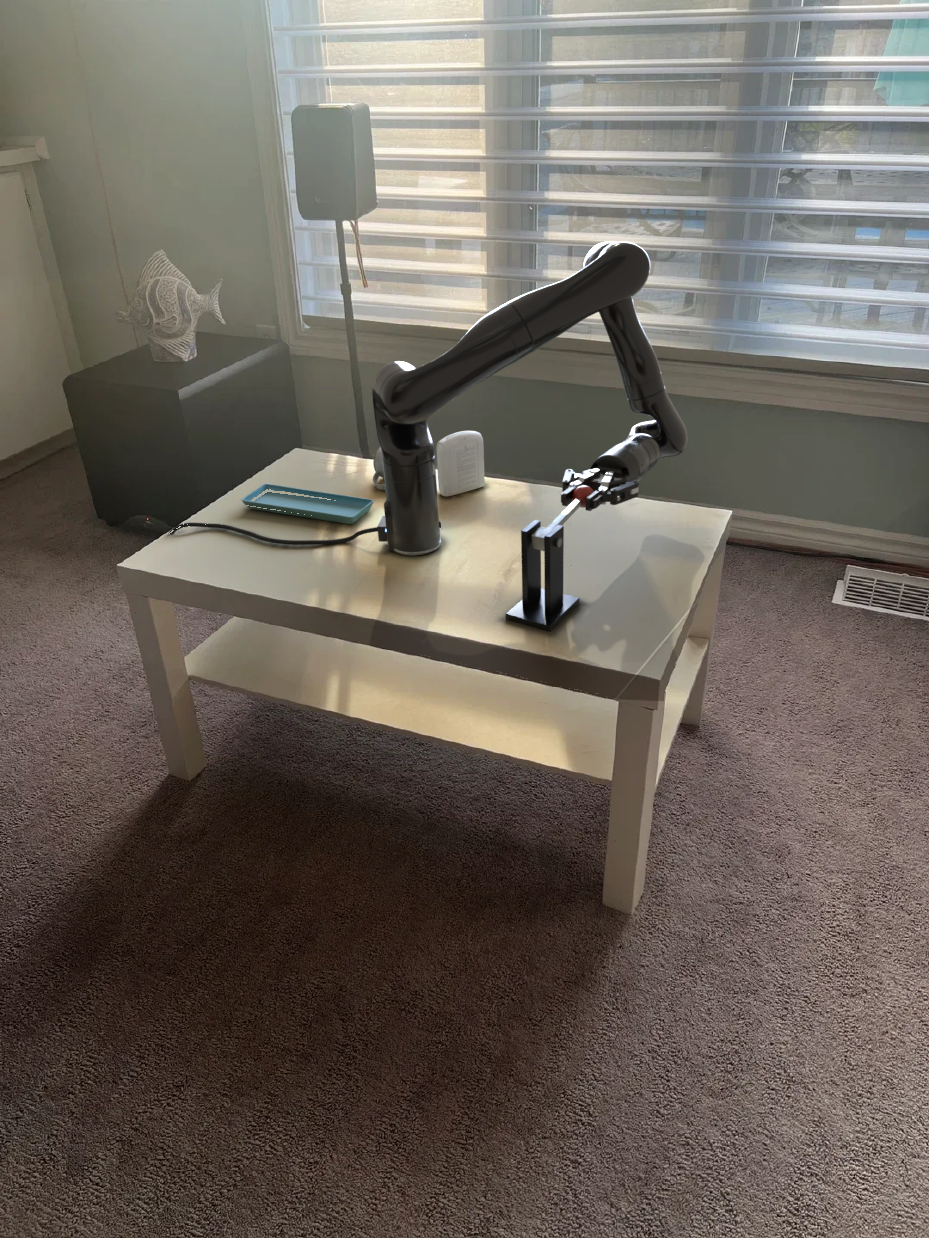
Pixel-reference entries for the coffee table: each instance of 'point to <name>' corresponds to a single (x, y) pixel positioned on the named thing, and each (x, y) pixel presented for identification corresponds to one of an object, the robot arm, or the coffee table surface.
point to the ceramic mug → (378, 469)
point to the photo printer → (460, 462)
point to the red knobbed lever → (562, 516)
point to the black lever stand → (536, 602)
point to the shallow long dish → (309, 504)
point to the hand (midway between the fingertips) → (576, 502)
